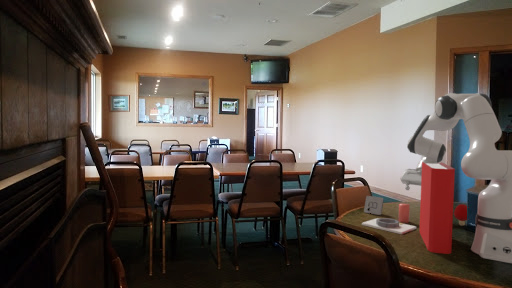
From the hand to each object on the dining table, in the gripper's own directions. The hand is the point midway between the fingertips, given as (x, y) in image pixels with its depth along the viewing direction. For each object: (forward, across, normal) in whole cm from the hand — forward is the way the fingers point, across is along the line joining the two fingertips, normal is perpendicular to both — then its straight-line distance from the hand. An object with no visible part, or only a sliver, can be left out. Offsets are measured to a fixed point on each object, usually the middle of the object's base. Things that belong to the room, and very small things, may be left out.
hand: (415, 190), depth 195 cm
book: (+34, +24, -14) cm, 44 cm away
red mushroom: (+9, +22, +12) cm, 26 cm away
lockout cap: (+18, 0, +2) cm, 18 cm away
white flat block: (+29, 0, -9) cm, 30 cm away
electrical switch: (+16, -19, +5) cm, 25 cm away
